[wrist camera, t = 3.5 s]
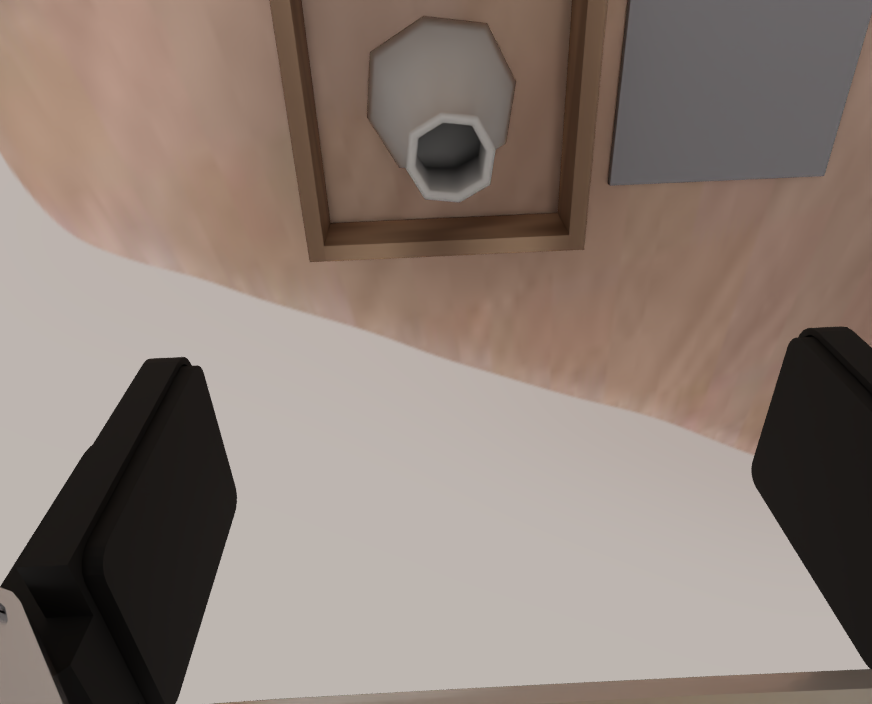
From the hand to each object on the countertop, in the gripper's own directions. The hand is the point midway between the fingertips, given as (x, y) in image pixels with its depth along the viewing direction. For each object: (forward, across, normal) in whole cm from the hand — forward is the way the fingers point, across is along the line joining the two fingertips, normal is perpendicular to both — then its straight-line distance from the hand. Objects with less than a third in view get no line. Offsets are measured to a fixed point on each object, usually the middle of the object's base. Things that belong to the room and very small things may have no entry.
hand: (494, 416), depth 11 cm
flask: (+25, 0, 0) cm, 25 cm away
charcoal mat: (+24, -14, -1) cm, 28 cm away
